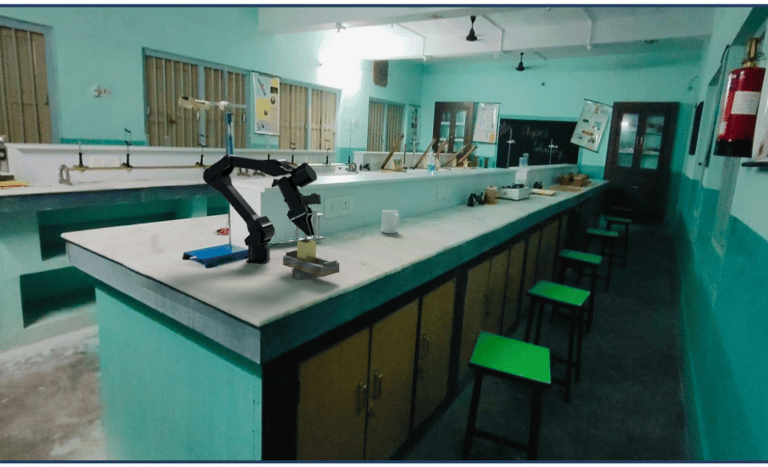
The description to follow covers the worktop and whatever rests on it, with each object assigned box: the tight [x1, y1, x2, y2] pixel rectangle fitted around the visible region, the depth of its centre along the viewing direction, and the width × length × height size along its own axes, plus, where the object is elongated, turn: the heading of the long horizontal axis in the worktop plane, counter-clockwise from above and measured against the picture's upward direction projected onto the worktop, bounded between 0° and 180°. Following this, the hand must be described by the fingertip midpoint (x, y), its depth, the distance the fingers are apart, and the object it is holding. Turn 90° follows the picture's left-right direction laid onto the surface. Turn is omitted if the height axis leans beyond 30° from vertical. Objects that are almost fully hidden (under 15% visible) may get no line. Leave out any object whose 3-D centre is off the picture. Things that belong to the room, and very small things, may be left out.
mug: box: [380, 209, 401, 234], centre depth 216 cm, size 12×8×10 cm, turn 29°
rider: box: [296, 239, 317, 263], centre depth 141 cm, size 4×4×7 cm
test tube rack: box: [280, 208, 325, 245], centre depth 190 cm, size 25×4×13 cm, turn 129°
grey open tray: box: [282, 249, 340, 281], centre depth 141 cm, size 18×9×7 cm, turn 52°
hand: (311, 235), depth 150 cm, fingers open, 9 cm apart
